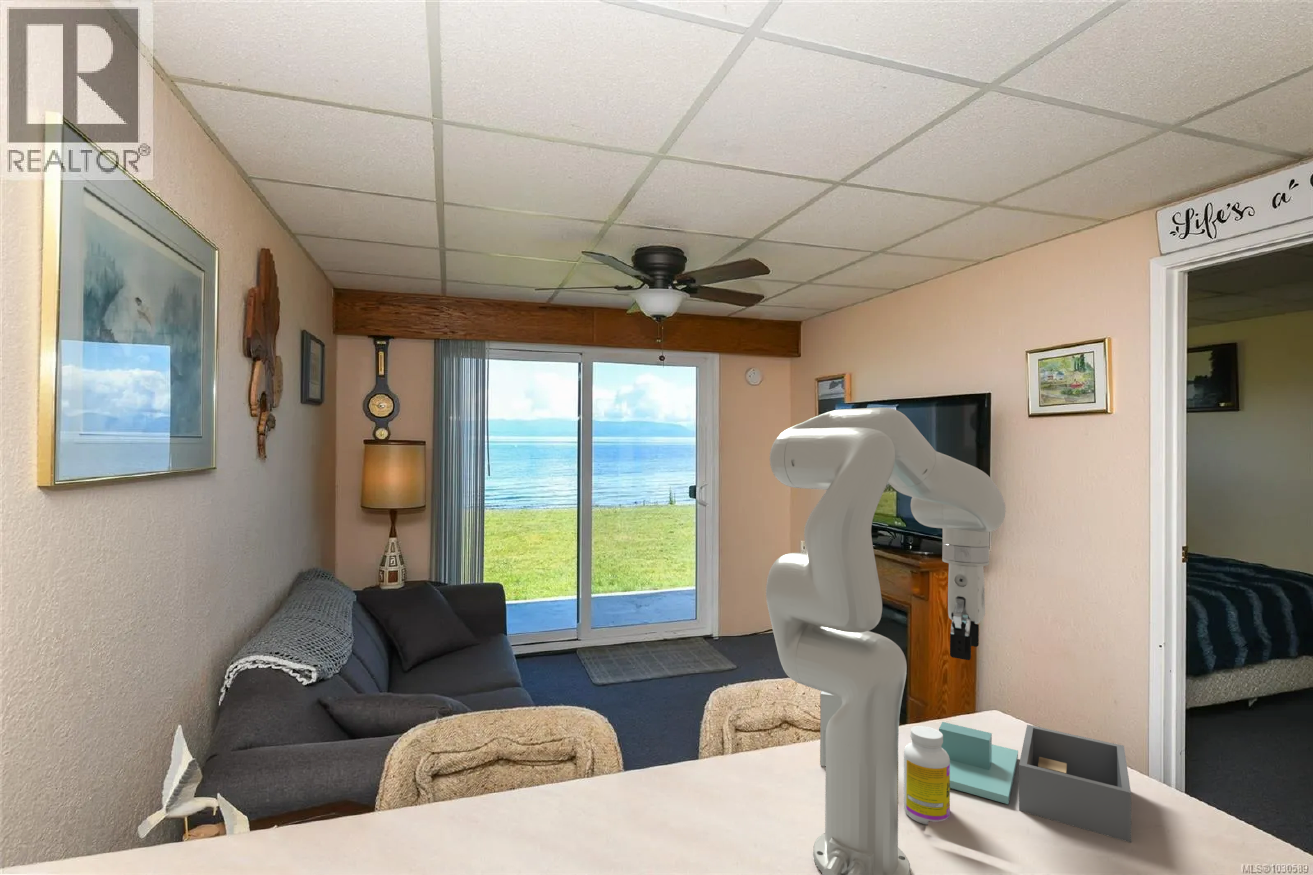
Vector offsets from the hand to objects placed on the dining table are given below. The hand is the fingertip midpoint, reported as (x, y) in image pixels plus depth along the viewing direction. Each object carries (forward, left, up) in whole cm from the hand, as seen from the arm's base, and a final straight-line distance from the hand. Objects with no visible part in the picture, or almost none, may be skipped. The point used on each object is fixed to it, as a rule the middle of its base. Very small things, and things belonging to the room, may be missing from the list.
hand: (964, 651), depth 112 cm
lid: (0, 0, -22) cm, 22 cm away
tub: (-1, -16, -21) cm, 27 cm away
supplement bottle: (-18, +3, -22) cm, 28 cm away
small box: (-8, +20, -22) cm, 31 cm away
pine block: (+3, -13, -20) cm, 25 cm away
